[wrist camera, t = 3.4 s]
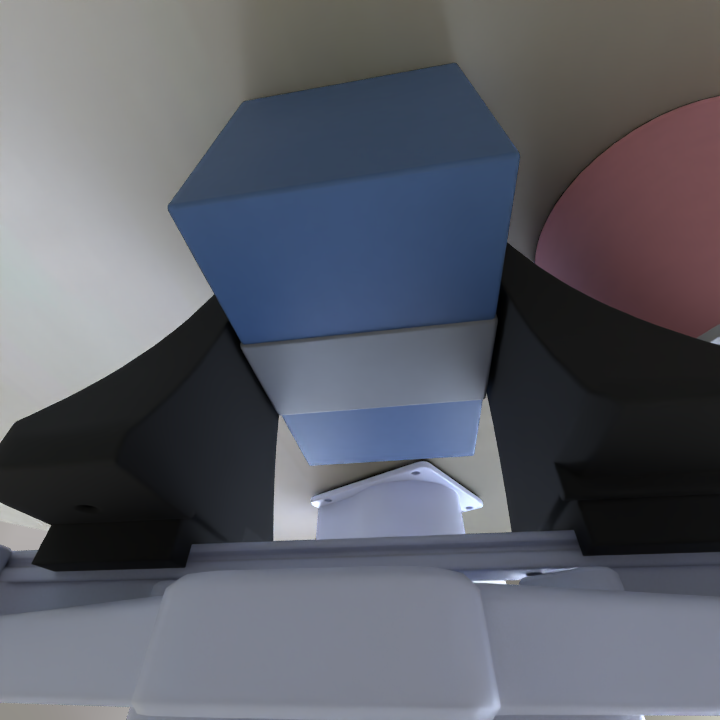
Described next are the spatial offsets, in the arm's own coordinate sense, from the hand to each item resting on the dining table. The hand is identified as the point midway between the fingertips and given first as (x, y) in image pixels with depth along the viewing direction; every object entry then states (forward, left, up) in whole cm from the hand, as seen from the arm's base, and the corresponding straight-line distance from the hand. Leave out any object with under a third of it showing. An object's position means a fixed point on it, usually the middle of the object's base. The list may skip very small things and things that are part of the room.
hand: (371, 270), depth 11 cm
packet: (0, 0, -1) cm, 1 cm away
